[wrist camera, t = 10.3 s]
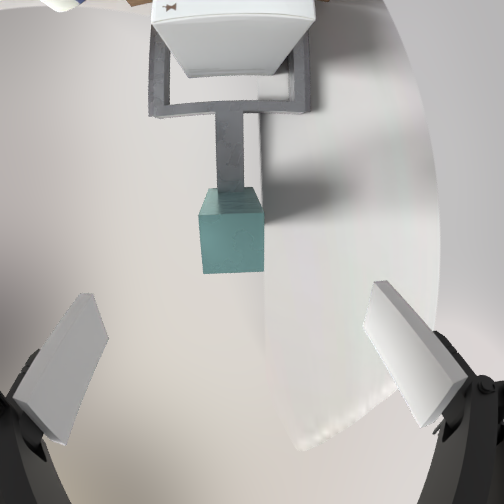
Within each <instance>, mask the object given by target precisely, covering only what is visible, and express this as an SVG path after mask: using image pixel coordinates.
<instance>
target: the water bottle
mask: <svg viewBox="0 0 504 504" xmlns="http://www.w3.org/2000/svg"><path fill="white" fill-rule="evenodd" d="M40 1H42V2H43V3H45V4H46V5H48V6H49V7H51V8H52V9H54V10H55V11H57V12H65V11H68V10H70V9H73V8H75V7H76V6H78V5H80V4H81V3H82V2H84V1H85V0H40Z"/></svg>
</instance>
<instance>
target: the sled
mask: <svg viewBox="0 0 504 504" xmlns="http://www.w3.org/2000/svg"><path fill="white" fill-rule="evenodd" d="M288 71H289V101H262V100H253V101H252V100H249V101H248V100H245V101H244V100H241V101H240V100H239V101H211V102H197V103H185V104H175V105H170V102H169V101H170V98H169V97H170V96H169V95H170V88H169V85H170V50H169V48H168V47H167V45H166V44H165V42H164V41H163V39H162V38H161V37H160V35H159V33H158V32H157V31H156V38H155V56H154V117H155V118H159V119H163V118H171V117H181V116H192V115H205V114H215V117H216V118H215V119H216V120H215V121H216V161H217V188H213V189H209V190H208V192H207V195H206V197H205V200H204V202H203V205H202V207H201V210H200V213H199V215H198V216H199V230H200V242H201V254H202V264H203V273H204V274H214V273H240V272H263V271H264V211H263V209H262V207H261V204H260V202H259V200H258V198H257V196H256V193H255V191H254V189H253V187H244V148H243V113H279V114H302V113H305V73H304V45H303V36H302V37H301V39H300V40H299V41H298V43H297V44H296V45H295V46H294V48H293V49H292V50H291V52H290V53H289V54H288Z"/></svg>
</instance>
